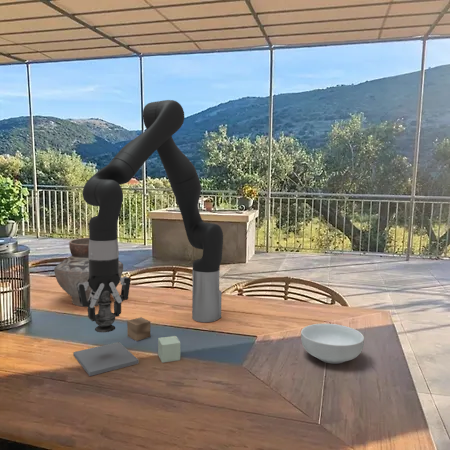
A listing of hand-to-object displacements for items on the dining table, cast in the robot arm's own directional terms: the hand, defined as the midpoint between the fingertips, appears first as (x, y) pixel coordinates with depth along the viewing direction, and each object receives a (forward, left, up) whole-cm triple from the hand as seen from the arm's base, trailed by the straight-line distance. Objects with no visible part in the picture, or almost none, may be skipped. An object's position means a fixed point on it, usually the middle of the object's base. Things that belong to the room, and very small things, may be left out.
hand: (104, 317), depth 115 cm
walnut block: (-14, -10, -12) cm, 21 cm away
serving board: (0, 0, -12) cm, 12 cm away
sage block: (-15, +8, -12) cm, 21 cm away
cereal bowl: (-53, +32, -12) cm, 63 cm away
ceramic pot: (-12, -51, -12) cm, 54 cm away
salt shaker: (0, 0, -3) cm, 3 cm away
